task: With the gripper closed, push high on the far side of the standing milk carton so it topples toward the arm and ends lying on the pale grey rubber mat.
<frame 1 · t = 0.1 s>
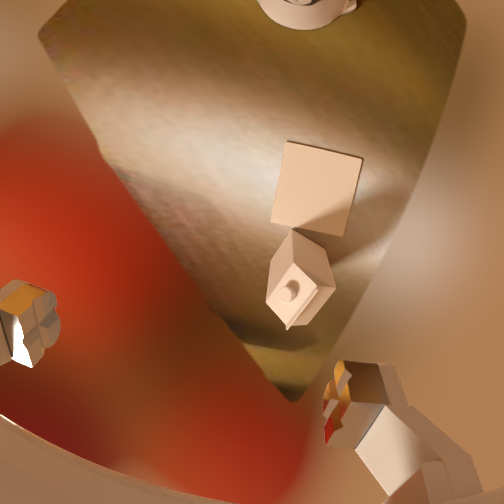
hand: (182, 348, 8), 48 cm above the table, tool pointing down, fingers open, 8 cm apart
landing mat: (315, 190, 54), on the table
milk carton: (297, 254, 58), on the table
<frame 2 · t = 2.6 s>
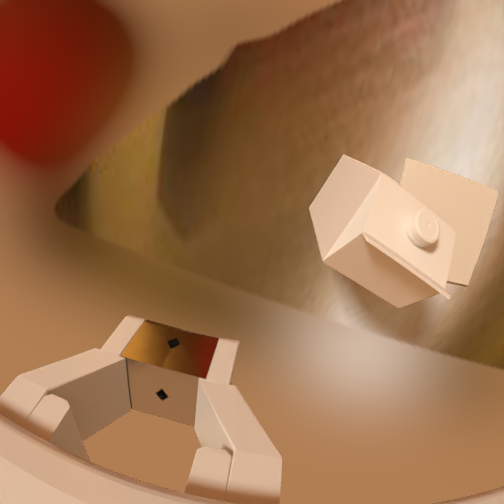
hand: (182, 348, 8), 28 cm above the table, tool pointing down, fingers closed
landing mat: (442, 226, 34), on the table
milk carton: (352, 198, 34), on the table
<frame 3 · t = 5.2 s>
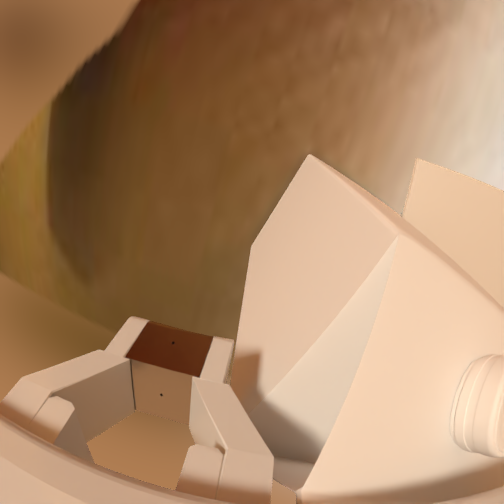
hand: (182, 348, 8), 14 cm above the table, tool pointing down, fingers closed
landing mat: (467, 267, 21), on the table
milk carton: (324, 227, 21), on the table, touching gripper
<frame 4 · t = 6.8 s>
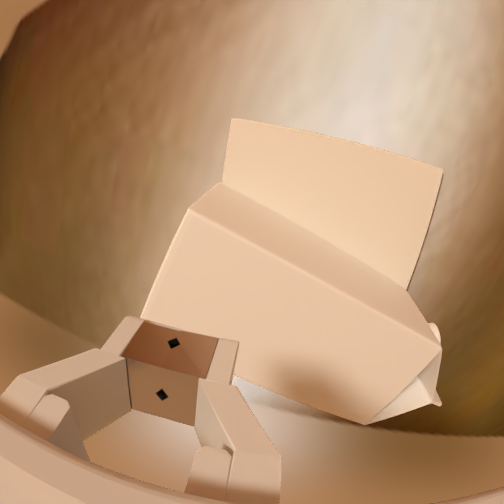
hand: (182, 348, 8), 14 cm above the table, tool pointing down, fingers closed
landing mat: (322, 237, 21), on the table
milk carton: (173, 244, 18), point 4 cm above the table, touching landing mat
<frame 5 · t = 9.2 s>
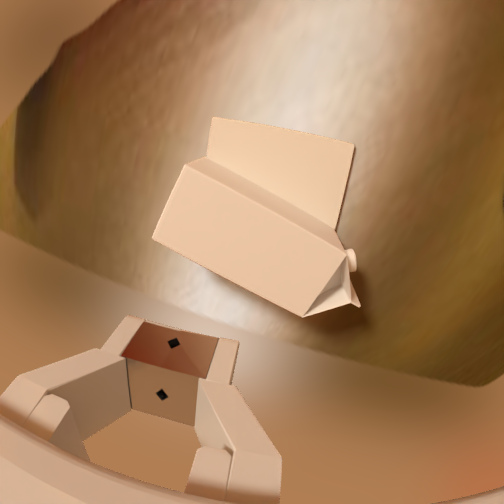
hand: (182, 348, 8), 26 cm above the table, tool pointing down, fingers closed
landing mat: (272, 192, 32), on the table
milk carton: (175, 192, 29), point 4 cm above the table, touching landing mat
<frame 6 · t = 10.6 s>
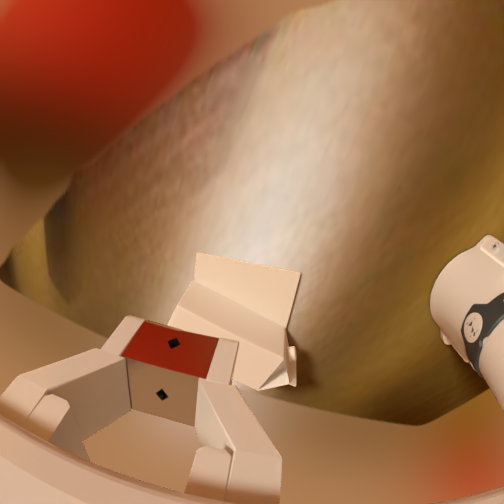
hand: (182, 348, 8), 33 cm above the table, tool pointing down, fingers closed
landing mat: (241, 303, 46), on the table
milk carton: (173, 309, 43), point 4 cm above the table, touching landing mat
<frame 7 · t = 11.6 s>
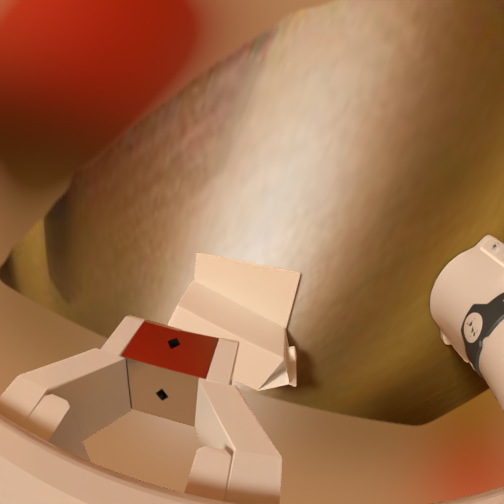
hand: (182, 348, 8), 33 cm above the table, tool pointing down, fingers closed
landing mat: (241, 303, 46), on the table
milk carton: (173, 309, 43), point 4 cm above the table, touching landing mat
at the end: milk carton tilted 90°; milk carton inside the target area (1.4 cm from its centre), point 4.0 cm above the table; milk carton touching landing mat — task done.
